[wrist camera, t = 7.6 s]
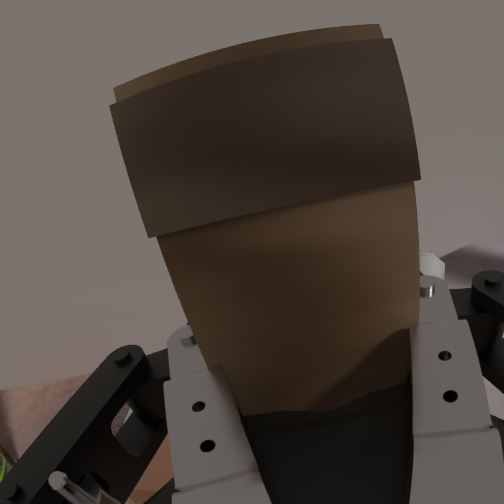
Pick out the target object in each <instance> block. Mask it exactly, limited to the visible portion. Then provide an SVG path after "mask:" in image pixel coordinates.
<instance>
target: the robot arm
mask: <svg viewBox="0 0 504 504" xmlns="http://www.w3.org/2000/svg"><path fill="white" fill-rule="evenodd" d="M503 332H504V273H501V272H498V271H482V272H479V273H477V274H476V275H475V276H474V277H473V279H472V287H471V288H464V289H449V288H448V285H447V283H446V282H445V281H444V280H443V279H441V278H439V277H435V276H430V275H423V273H422V272H421V271H420V310H419V324H408V333H407V351H406V367H405V378H404V383H403V384H399V385H396V386H392V387H389V388H385V389H382V390H378V391H374V392H370V393H368V394H366V395H364V396H361V397H359V398H357V399H355V400H353V401H351V402H348V403H346V404H344V405H342V406H339V407H337V408H335V409H332V410H330V411H284V410H283V411H276V412H269V413H262V414H254V415H245V416H244V414H243V412H242V410H241V408H240V405H239V403H238V401H237V399H236V396H235V394H234V391H233V389H232V386H231V384H230V381H229V379H228V377H227V374H226V372H225V370H224V367H223V366H222V364H218V365H215V366H212V367H209V368H207V365H206V363H205V361H204V358H203V356H202V354H201V351H200V349H199V347H198V344H197V342H196V340H195V337H194V335H193V333H192V330H191V328H190V325H189V323H187V325H186V326H184V327H181V328H179V329H178V330H176V331H175V332H174V333H173V334H172V335H171V336H170V337H169V339H168V342H167V347H168V348H166V349H164V350H161V351H158V352H155V353H152V354H149V355H145V353H144V352H143V349H142V348H141V347H140V346H137V345H127V346H123V347H120V348H118V349H117V350H115V351H113V352H112V353H111V354H110V355H108V356H107V358H106V359H105V360H104V361H103V362H102V363H101V364H100V365H99V367H98V368H97V369H96V370H95V371H94V372H93V373H92V374H91V376H90V377H89V378H88V379H87V380H86V381H85V382H84V383H83V385H82V386H81V387H80V388H79V389H78V390H77V391H76V393H75V394H74V395H73V396H72V397H71V398H70V399H69V401H68V402H67V403H66V404H65V405H64V406H63V408H62V409H61V410H60V411H59V412H58V413H57V415H56V416H55V417H54V418H53V419H52V420H51V422H50V423H49V424H48V425H47V426H46V427H45V429H44V430H43V431H42V432H41V433H40V435H39V436H38V437H37V438H36V439H35V441H34V442H33V443H32V444H31V445H30V447H29V448H28V449H27V450H26V451H25V453H24V454H23V455H22V456H21V458H20V459H19V460H18V461H17V462H16V464H15V465H14V466H13V467H12V469H11V470H10V471H9V472H8V474H7V475H6V476H5V477H4V479H3V480H2V481H1V483H0V504H125V503H126V501H127V499H128V498H129V496H130V495H131V493H132V491H133V490H134V488H135V487H136V485H137V483H138V482H139V480H140V478H141V477H142V475H143V473H144V472H145V470H146V469H147V467H148V465H149V464H150V462H151V460H152V459H153V457H154V455H155V454H156V452H157V450H158V449H159V447H160V446H161V444H162V442H163V441H164V439H165V437H166V436H167V434H168V437H169V445H170V452H171V460H172V467H173V473H174V477H173V478H172V479H171V480H169V481H168V482H167V483H166V484H165V485H164V486H163V487H162V488H161V489H159V490H158V491H157V492H156V493H155V494H154V495H153V496H151V497H150V498H149V499H148V500H147V501H146V502H144V503H143V504H504V420H502V419H500V418H498V417H495V416H493V415H491V414H490V411H489V405H488V400H487V395H486V390H485V385H484V381H483V376H484V377H485V378H486V379H487V380H488V381H489V382H491V383H492V384H493V385H494V386H495V387H496V388H498V389H499V390H500V391H501V392H502V393H503V394H504V338H502V336H503ZM126 402H127V404H128V405H129V407H130V408H131V409H132V411H133V412H132V413H131V415H130V416H129V417H128V419H127V420H126V422H125V423H124V424H123V426H122V427H121V429H120V430H119V431H118V433H117V434H116V436H115V437H114V435H113V434H112V431H111V423H112V421H113V419H114V417H115V416H116V415H117V413H118V412H119V411H120V409H121V408H122V407H123V405H124V404H125V403H126Z"/></svg>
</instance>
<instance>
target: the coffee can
mask: <svg viewBox="0 0 504 504" xmlns="http://www.w3.org/2000/svg"><path fill="white" fill-rule="evenodd" d="M16 462H17V461H16V460H15V459H14V458H13V457H12V456H11V455H10V454H9V453H8V452H7V451H6V450H5V449H4V448H3V447H2V446H1V445H0V483H1V481H2V480H3V479H4V477H5V476H6V475H7V474H8V472H9V471H10V470H11V469H12V467H13V466H14V465H15V464H16Z"/></svg>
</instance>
